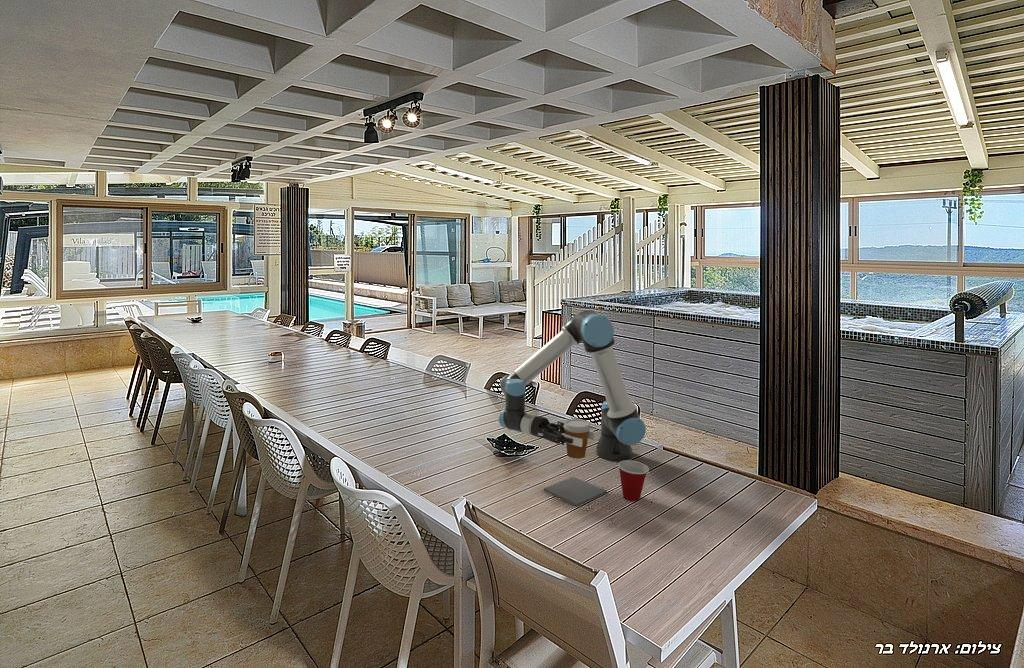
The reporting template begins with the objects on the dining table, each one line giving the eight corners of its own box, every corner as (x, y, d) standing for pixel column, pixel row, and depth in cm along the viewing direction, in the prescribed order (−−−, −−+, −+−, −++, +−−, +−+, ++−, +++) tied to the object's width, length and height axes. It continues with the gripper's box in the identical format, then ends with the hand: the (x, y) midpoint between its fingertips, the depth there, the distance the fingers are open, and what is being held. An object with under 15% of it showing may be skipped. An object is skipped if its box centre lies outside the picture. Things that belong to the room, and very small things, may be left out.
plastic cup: (648, 506, 195) (650, 473, 193) (616, 503, 197) (617, 470, 195) (647, 492, 205) (649, 460, 203) (616, 489, 207) (618, 458, 205)
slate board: (573, 479, 216) (573, 476, 216) (606, 493, 204) (607, 490, 204) (543, 491, 205) (543, 488, 205) (577, 506, 194) (577, 504, 193)
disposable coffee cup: (558, 451, 205) (559, 419, 203) (583, 449, 208) (584, 417, 206) (569, 461, 197) (570, 428, 194) (594, 458, 199) (595, 426, 197)
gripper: (551, 428, 221) (603, 441, 207) (518, 443, 205) (572, 458, 191) (551, 409, 220) (603, 421, 206) (518, 423, 203) (572, 437, 190)
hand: (588, 439), depth 198 cm, fingers closed on disposable coffee cup, 8 cm apart
